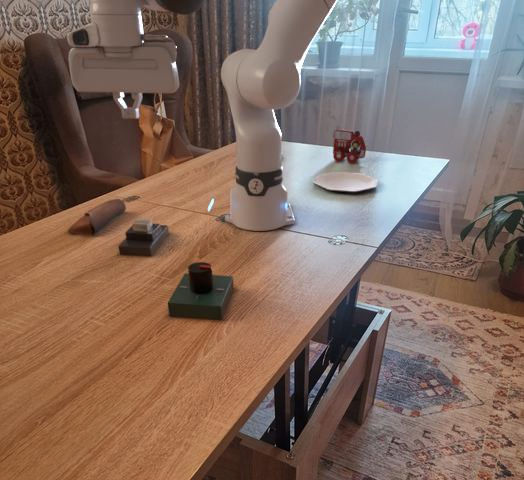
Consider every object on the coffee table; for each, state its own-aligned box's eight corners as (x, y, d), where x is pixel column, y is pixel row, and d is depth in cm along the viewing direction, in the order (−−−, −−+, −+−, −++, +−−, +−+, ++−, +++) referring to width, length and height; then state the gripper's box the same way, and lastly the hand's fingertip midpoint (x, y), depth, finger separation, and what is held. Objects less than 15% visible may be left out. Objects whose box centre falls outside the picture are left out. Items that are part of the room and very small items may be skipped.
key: (138, 226, 116) (137, 218, 115) (153, 227, 116) (151, 218, 115) (133, 232, 114) (132, 223, 112) (148, 232, 113) (146, 224, 112)
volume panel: (186, 286, 99) (184, 272, 97) (233, 289, 98) (233, 275, 96) (169, 316, 89) (167, 301, 88) (222, 320, 88) (221, 305, 87)
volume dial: (187, 293, 91) (184, 269, 88) (194, 282, 94) (192, 259, 91) (209, 295, 90) (207, 271, 87) (215, 284, 93) (214, 261, 91)
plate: (374, 197, 144) (374, 192, 144) (309, 192, 149) (309, 187, 148) (378, 179, 160) (379, 174, 159) (320, 174, 164) (320, 170, 163)
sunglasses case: (98, 208, 136) (106, 188, 132) (120, 222, 137) (128, 203, 133) (65, 232, 122) (72, 211, 118) (89, 247, 123) (97, 227, 119)
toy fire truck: (361, 164, 174) (365, 133, 168) (328, 161, 179) (331, 130, 173) (366, 160, 180) (369, 130, 174) (334, 156, 184) (336, 127, 178)
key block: (140, 232, 123) (137, 217, 121) (169, 233, 122) (167, 218, 120) (119, 255, 112) (116, 238, 109) (151, 256, 111) (149, 240, 109)
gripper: (179, 33, 88) (186, 116, 96) (73, 33, 90) (89, 114, 98) (169, 35, 83) (178, 122, 91) (57, 34, 85) (75, 119, 93)
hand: (131, 118), depth 95 cm, fingers closed
